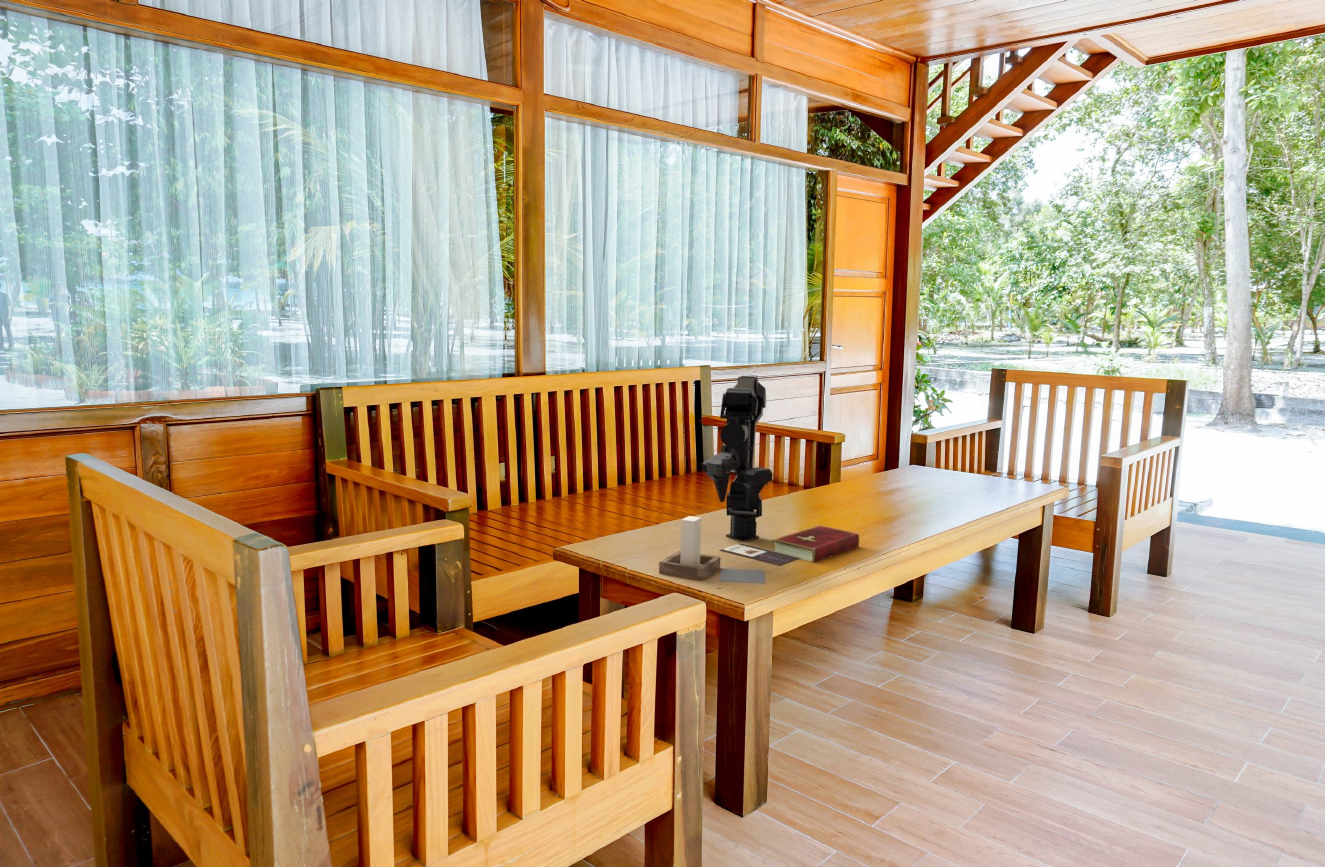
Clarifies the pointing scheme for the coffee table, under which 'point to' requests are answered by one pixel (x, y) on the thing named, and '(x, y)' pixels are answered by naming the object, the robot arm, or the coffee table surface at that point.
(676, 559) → the brown square tray
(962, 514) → the coffee table surface
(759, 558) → the chocolate bar
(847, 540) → the hardcover book
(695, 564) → the grey tall square post
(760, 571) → the mat
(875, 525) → the coffee table surface
